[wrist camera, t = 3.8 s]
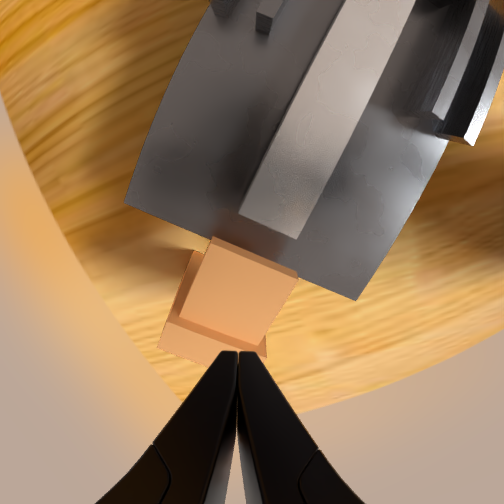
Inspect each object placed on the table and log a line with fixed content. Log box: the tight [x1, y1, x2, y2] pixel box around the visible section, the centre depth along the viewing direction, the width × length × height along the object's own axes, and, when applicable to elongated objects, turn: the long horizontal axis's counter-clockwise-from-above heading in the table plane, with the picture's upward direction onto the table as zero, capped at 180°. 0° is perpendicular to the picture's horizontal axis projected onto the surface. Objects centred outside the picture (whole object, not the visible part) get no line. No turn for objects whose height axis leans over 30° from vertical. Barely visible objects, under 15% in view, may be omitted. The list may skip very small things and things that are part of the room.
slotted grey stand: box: [124, 0, 504, 301], centre depth 12 cm, size 12×18×6 cm, turn 155°
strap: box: [238, 0, 416, 240], centre depth 10 cm, size 14×3×1 cm, turn 155°
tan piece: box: [157, 236, 299, 367], centre depth 16 cm, size 4×5×7 cm
